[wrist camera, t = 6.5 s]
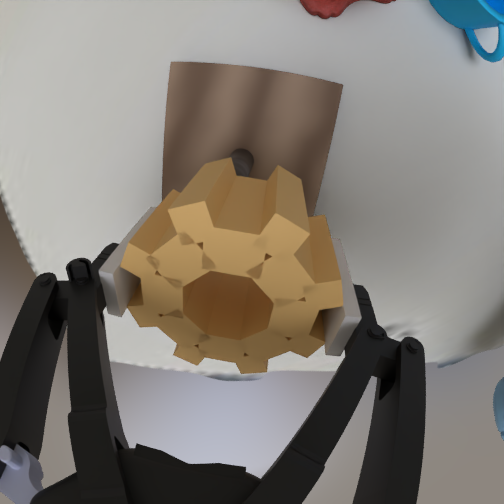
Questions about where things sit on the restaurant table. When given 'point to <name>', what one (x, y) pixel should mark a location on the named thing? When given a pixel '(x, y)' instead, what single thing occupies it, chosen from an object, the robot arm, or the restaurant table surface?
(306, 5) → the stacking bear
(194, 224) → the ochre gear
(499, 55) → the mug
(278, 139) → the gear board
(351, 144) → the restaurant table surface
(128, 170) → the restaurant table surface
